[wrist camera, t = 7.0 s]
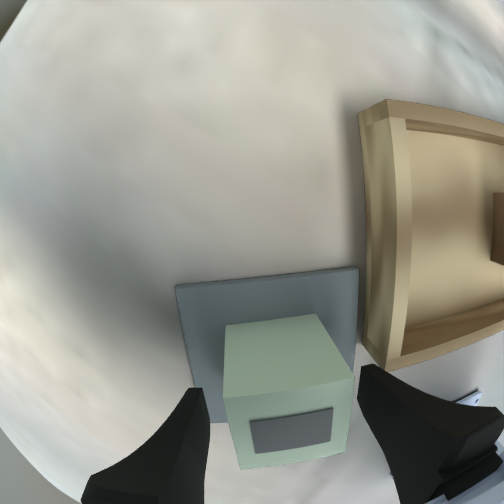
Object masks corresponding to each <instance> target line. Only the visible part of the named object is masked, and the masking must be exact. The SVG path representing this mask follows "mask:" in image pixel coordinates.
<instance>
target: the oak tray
mask: <svg viewBox="0 0 504 504" xmlns="http://www.w3.org/2000/svg"><path fill="white" fill-rule="evenodd" d="M358 119H359V127H360V136H361V146H362V156H363V168H364V182H365V201H366V238H367V257H366V294H365V313H364V327H363V339H362V345H363V346H364V347H365V349H366V350H367V351H368V352H369V354H370V355H371V356H372V358H373V359H374V360H375V362H376V363H377V364H378V365H379V367H380V368H381V369H383V370H385V371H386V372H390V371H394V370H397V369H401V368H404V367H407V366H411V365H414V364H417V363H420V362H423V361H426V360H429V359H432V358H435V357H438V356H441V355H444V354H446V353H449V352H452V351H455V350H457V349H460V348H462V347H465V346H467V345H470V344H472V343H475V342H477V341H479V340H482V339H484V338H486V337H489V336H491V335H493V334H495V333H497V332H500V331H502V330H504V266H503V265H500V264H498V263H495V262H492V261H490V257H491V246H492V230H493V193H504V124H502V123H499V122H496V121H492V120H489V119H485V118H482V117H478V116H474V115H471V114H467V113H463V112H458V111H454V110H450V109H445V108H440V107H435V106H430V105H424V104H419V103H413V102H406V101H399V100H392V99H385V100H383V101H381V102H379V103H378V104H376V105H374V106H372V107H370V108H368V109H366V110H364V111H362V112H360V113H358Z"/></svg>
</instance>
